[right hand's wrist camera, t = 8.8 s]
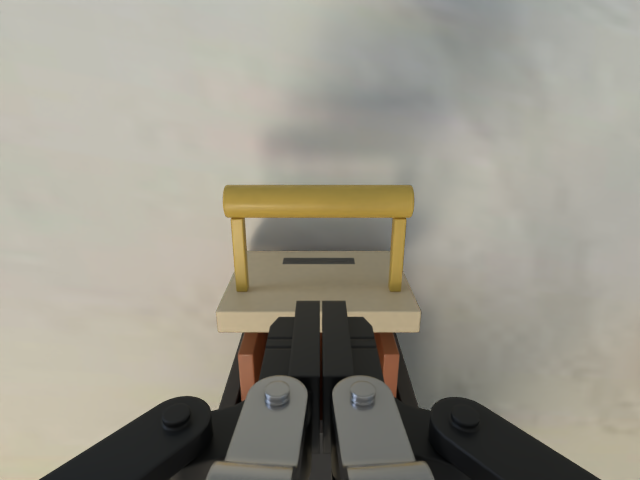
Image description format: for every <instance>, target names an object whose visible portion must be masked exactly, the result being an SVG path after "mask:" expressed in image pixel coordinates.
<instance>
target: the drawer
mask: <svg viewBox="0 0 640 480" xmlns="http://www.w3.org/2000/svg"><path fill="white" fill-rule="evenodd" d="M223 209H224V213H225V216H226V217H228V218H231V229H232V242H233V255H234V268H235V272H234V274H233V276H232V278H231V280H230V282H229V285H228V287H227V289H226V291H225V293H224V295H223V298H222V300H221V302H220V304H219V306H218V308H217V310H216V318H217V329H218V332H245V333H244V336H243V339H242V343H241V346H240V349H239V352H238V364H239V376H240V388H241V401H244V400H245V399H246V396H247V393H248V391H249V389H250V388H251V387H252V386H253V385H254V384H255V383H256V382H258V381H259V376H260V371H261V367H262V362H263V357H264V352H265V349H266V343H267V339H268V333H269V328H270V326H271V325H272V324H273V322H274V321H275V320H276V319H277V318H278V317H295V309H296V301H320V420H322V301H346V308H347V316H348V317H364V318H365V319H366V320H367V321H368V322H369V323H370V324H371V325H372V327H373V332H374V337H375V341H376V346H377V350H378V355H379V360H380V364H381V369H382V373H383V378H384V382H385V384H386V385H387V386H388V387H389V388H390V389H391V391H392V393H393V396H394V397H395V398H396V393H397V381H398V368H399V356H400V355H399V351H398V348H397V344H396V341H395V338H394V334H393V332H419V330H420V320H421V310H420V308H419V306H418V304H417V301H416V299H415V297H414V295H413V292H412V290H411V288H410V286H409V284H408V281H407V279H406V277H405V275H404V272H403V259H404V246H405V232H406V218H409V217H411V216H412V214H413V210H414V191H413V188H412V186H411V185H226V186H225V188H224V192H223ZM245 218H393V220H392V236H391V251H247V246H246V231H245Z"/></svg>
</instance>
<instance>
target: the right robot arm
mask: <svg viewBox="0 0 640 480" xmlns="http://www.w3.org/2000/svg"><path fill="white" fill-rule="evenodd" d="M322 433H323V454H331V480H601V479H599V478H597V477H596V476H594V475H593V474H591V473H589V472H588V471H586V470H585V469H583V468H581V467H580V466H578V465H577V464H575V463H573V462H572V461H570V460H569V459H567V458H566V457H564V456H562V455H561V454H559V453H558V452H556V451H554V450H553V449H551V448H550V447H548V446H546V445H545V444H543V443H542V442H540V441H538V440H537V439H535V438H534V437H532V436H531V435H529V434H527V433H526V432H524V431H523V430H521V429H519V428H518V427H516V426H515V425H513V424H511V423H510V422H508V421H507V420H505V419H503V418H502V417H500V416H499V415H497V414H495V413H494V412H492V411H491V410H489V409H488V408H486V407H484V406H483V405H481V404H479V403H477V402H475V401H472V400H469V399H466V398H460V397H449V398H444V399H441V400H439V401H438V402H436V403H435V404H434V406H433V407H432V409H431V411H429V410H425V409H421V408H417V407H414V406H410V405H408V404H405V403H403V402H401V401H399V400H398V399H397V398H395V397H394V396H393V393H392V391H391V389H390V388H389V387H388V386H387V385H386V384H385V382H384V378H383V373H382V369H381V364H380V360H379V355H378V350H377V346H376V341H375V337H374V332H373V327H372V325H371V324H370V323H369V322H368V321H367V320H366V319H365V318H364V317H348V316H347V308H346V301H322ZM312 454H320V301H296V309H295V317H278V318H277V319H276V320H275V321H274V322H273V324H272V325H271V326H270V328H269V333H268V339H267V343H266V349H265V352H264V357H263V362H262V367H261V371H260V376H259V381H258V382H256V383H255V384H254V385H253V386H252V387H251V388H250V389H249V391H248V393H247V396H246V399H245V400H244V401H242V402H240V403H238V404H236V405H233V406H230V407H226V408H222V409H218V410H214V411H211V410H210V407H209V405H208V404H207V403H206V402H205V401H204V400H202V399H200V398H197V397H192V396H182V397H176V398H172V399H169V400H167V401H164V402H162V403H161V404H159V405H157V406H156V407H154V408H152V409H151V410H149V411H148V412H146V413H145V414H143V415H141V416H140V417H138V418H137V419H135V420H133V421H132V422H130V423H129V424H127V425H125V426H124V427H122V428H121V429H119V430H117V431H116V432H114V433H113V434H111V435H110V436H108V437H106V438H105V439H103V440H102V441H100V442H98V443H97V444H95V445H94V446H92V447H90V448H89V449H87V450H86V451H84V452H82V453H81V454H79V455H78V456H76V457H74V458H73V459H71V460H70V461H68V462H67V463H65V464H63V465H62V466H60V467H59V468H57V469H55V470H54V471H52V472H51V473H49V474H47V475H46V476H44V477H43V478H41V479H39V480H309V476H310V473H311V465H312Z"/></svg>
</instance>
